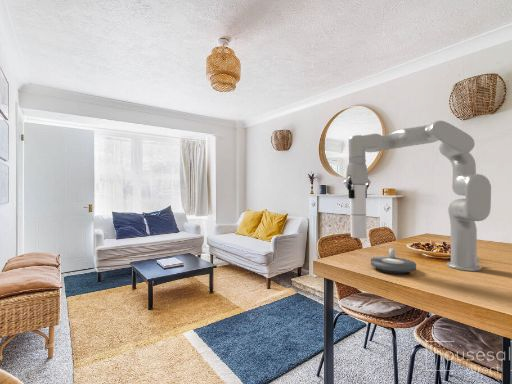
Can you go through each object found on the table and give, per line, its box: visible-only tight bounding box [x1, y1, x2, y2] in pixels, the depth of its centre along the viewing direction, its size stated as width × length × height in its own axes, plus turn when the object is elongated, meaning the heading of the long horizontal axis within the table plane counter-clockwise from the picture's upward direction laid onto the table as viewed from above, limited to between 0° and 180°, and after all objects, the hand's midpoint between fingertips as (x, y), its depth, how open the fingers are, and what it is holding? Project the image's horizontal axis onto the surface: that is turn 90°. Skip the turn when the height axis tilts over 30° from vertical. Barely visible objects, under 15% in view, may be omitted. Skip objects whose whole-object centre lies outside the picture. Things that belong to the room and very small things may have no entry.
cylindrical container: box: [349, 185, 367, 239], centre depth 130 cm, size 7×7×25 cm
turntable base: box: [377, 268, 409, 275], centre depth 120 cm, size 12×12×2 cm
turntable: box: [370, 248, 417, 273], centre depth 120 cm, size 18×18×6 cm
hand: (357, 197), depth 130 cm, fingers closed on cylindrical container, 7 cm apart
